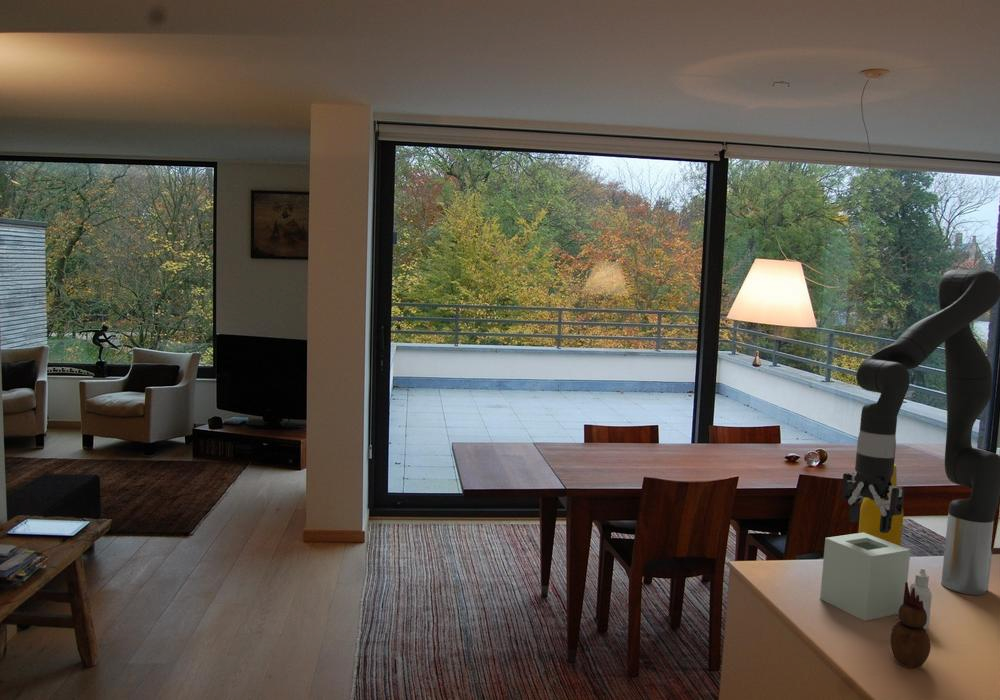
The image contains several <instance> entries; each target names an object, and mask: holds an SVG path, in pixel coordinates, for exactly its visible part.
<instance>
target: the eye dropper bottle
mask: <svg viewBox="0 0 1000 700" xmlns="http://www.w3.org/2000/svg"><path fill="white" fill-rule="evenodd" d="M929 579H930V576H929V575H927V573H926V568H924V567H922V568H920V571H919V572H916V573H915V579H914V583H911V584H910V587H909V593H910V595H911V592H912V588H915V599H916V596H917V595H919V602H920V601H923V607H924V609H925V611H926V614H927V622H926V624H925V626H924V627H923V628H924V629H925V630H928V629H929V626H930V619H931V618H930V617H931V608H932V595H933V594H932V591H931V589H930V588H929Z"/></svg>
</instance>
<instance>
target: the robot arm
mask: <svg viewBox="0 0 1000 700" xmlns="http://www.w3.org/2000/svg"><path fill="white" fill-rule="evenodd" d="M999 299H1000V277H999V276H998V275H997V273H995V272H993V271H990V270H983V269H949V270H947V271H946V272H945V273H944V274H943V275H942V277H941V279H940V282H939V286H938V302H939V303H938V304H939V311H937V312H935V313H933V314H931V315H929V316H926V317H924V318H922V319H920V320H918V321H917V322H915V323H913V324H912V325H911V326H909V327H908V328H907V329H905V331H903V333H902V334H901V335H900V336H899V337H897V339H895V340H894V341H893V342H892V343H891V344H889V345H887V346H884V348H882V349H881V348H880V350H878V351H876V352H875V353H873V354H871V355H869V356H868V357H867V358H865V359H864V360H863V361H862V362H861V363H860V365H859V366H858V368H857V370H856V374H855V379H856V383H857V384H858V386H859V387H860V388H861V389H862V390H865V391H868V392H872V393H878V394H880V396H879V398H878V400H877V402H871V403H870V402H869V403H866V404H864V405H863V406H862V408H861V414H860V425H859V434H858V437H857V444H856V454H855V465H854V471H855V472H856V473H854V472H847V473H843V475H842V488H841V489H842V491H841V498H842V500H844V501H847V503H848V504H849V509H848V518H849V521H850V522H852V523H859V520H860V509H861V504H860V503H862V501H863V499H864V498H870V499H871V500H875V502H876V505H877V506H879V508H880V511H881V513H882V515H881V519H880V530H879V531H880V532H882V533H888V532H889V531H890V530H891V525H892V517H893V516H894V515H901V514H902V509H903V510H904V499H905V491H906V490H905V487H903V486H900V487H898V486H897V487H895V486H892V483H891V478H892V476H893V472H894V464H895V459H896V451H897V450H896V449H897V439H896V438H897V437H896V434H897V425H898V415H899V412H900V410H901V407H902V405H903V403H904V401H905V397H906V395H907V393H908V390H909V388H910V387H909V386H910V383H911V377H910V376H911V375H910V373H909V370H912V369H913V370H914V369H916V368H917V367H919V366H920V365H921V364H922V363H923V362H924V361H925V360H926V359H928V357H929V356H930V355H931V354H933V353H934V351H935V350H936V349H938V347H939V346H941V345H943V343H944V353H945V354H944V355H945V356H944V357H945V359H944V360H945V373H944V374H945V393H946V394H945V395H946V437H945V449H944V451H945V452H944V471H945V476H946V477H947V479H948V480H949V481H950V483H951V482H952V483H953V484H956V485H960V486H963V487H966V488H970V489H971V492H970V496H969V498H962V499H960V498H959V499H953V500H951V501H950V502H949V506H948V514H947V522H946V523H947V525H946V533H945V543H944V552H943V562H942V572H941V582H940V583H941V585H942V586H943V587H945V588H947V589H949V590H952V591H955V592H958V593H962V594H967V595H973V596H974V595H975V596H977V595H984V594H986V593H987V590H989V584H990V576H991V575H990V573H991V564H992V556H993V551H992V549H991V548H992V541H993V539H992V538H993V530H994V521H995V515H996V512H997V509H998V507H999V503H1000V455H999V454H997V453H995V452H991V451H987V450H984V449H978V448H975V447H973V445H972V432H973V427H974V425H975V422H976V421H977V420H978V418H979V417H980V415H981V414H982V412H983V411H984V410H985V409H986V407H987V406H988V404H989V403H990V401H991V398H992V395H993V371H992V370H993V369H992V365H991V363H990V360H989V358H988V356H987V354H986V353H985V351H984V350H983V348H982V347H981V345H980V344H979V342H978V341H977V339H976V338H975V336H974V334H973V331H972V328H971V323H972V322H974V321H975V320H976V319H978V318H979V317H981V316H982V315H984V314H986V313H987V312H988V311H990V310H991V309H992V308H993V307H994V306H996V304H997V303H998V301H1000V300H999ZM855 485H856V487H855ZM889 492H890V495H891V498H890V496H889ZM883 498H884V501H882V500H881V499H883Z"/></svg>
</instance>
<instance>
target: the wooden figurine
mask: <svg viewBox="0 0 1000 700" xmlns="http://www.w3.org/2000/svg"><path fill="white" fill-rule="evenodd" d="M897 615H898V619H899V620H898V621H896V622H895V623H894V625H893V626H892V629H891V631H890V637H889V639H890V641H889V643H890V648H891V652H892V655H893V657H894V660H896V662H897V663H898V664H900V665H902V666H905V667H907V668H910V669H917V668H922V667H923V665H924V664H925V662H927V660H928V658H929V656H930V653H931V646H932V645H931V639H930V634H928V632H927V631H926V630H927V629H924V628H923V627H924V626H925V624H926V622H927V614H926V611H925V609H924V607H923V601H920V602H919V595H917V596H916V599H915V588H912V592H911V595H910V587H909V583H908V581H907V582H906V583H905V590H904V599H903V604H902V605H901V606H900V608H899V613H898V614H897Z"/></svg>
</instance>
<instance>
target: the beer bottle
mask: <svg viewBox="0 0 1000 700" xmlns="http://www.w3.org/2000/svg"><path fill="white" fill-rule="evenodd" d="M897 479H898V478H897V464H896V463H894V472H893V476H892V478H891V483H892V486H895V487H898V486H897V485H898V484H897ZM889 496H890V498H891V495H890V492H889ZM881 500H882V501H884V498H883V499H881ZM860 505H861V506H860V517H859V521H858V530H857V533H863V532H864V533H866V534H869V535H872V536H875V537H877V538H880V539H883V540H885V541H888V542H891V543H893V544H896V545H899V546H901V542H902V534H903V533H902V532H903V522H904V508H903V509H902V514H901V515H894V516H893V517H892V525H891V530H890V531H889V532H888V533H882V532H880V531H879V530H880V519H881V515H882V513H881V511H880V508H879V506H877V505H876V502H875V500H871V499H870V498H863V500H862V501H861V504H860Z"/></svg>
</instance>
